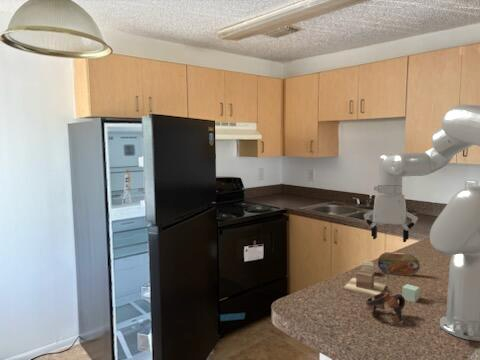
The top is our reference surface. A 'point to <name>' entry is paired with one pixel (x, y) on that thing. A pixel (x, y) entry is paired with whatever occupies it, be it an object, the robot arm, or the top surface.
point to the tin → (398, 263)
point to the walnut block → (365, 279)
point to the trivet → (352, 287)
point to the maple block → (368, 266)
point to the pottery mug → (391, 301)
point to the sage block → (410, 292)
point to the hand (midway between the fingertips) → (389, 239)
